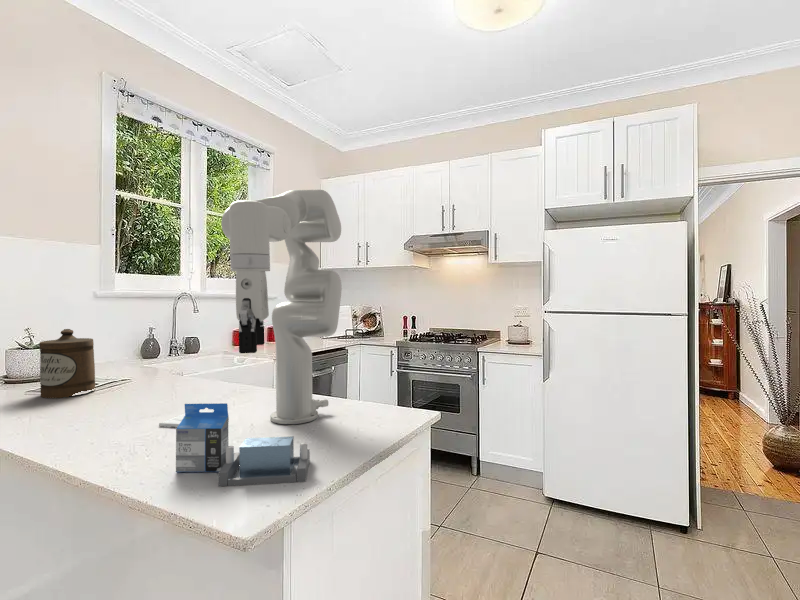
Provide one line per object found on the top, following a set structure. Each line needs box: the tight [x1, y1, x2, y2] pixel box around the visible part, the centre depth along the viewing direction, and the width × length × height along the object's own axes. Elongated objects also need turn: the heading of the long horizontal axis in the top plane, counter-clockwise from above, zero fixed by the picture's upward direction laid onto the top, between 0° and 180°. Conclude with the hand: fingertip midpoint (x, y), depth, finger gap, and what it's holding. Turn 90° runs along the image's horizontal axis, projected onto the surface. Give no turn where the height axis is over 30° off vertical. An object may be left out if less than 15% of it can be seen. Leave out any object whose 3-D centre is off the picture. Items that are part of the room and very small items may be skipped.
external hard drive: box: [158, 409, 214, 428], centre depth 116 cm, size 2×8×12 cm
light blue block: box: [238, 436, 295, 478], centre depth 82 cm, size 5×9×6 cm, turn 96°
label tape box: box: [175, 402, 230, 473], centre depth 84 cm, size 9×4×12 cm, turn 90°
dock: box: [217, 442, 311, 487], centre depth 82 cm, size 10×15×5 cm, turn 97°
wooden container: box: [39, 328, 96, 399], centre depth 148 cm, size 15×15×22 cm
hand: (252, 348), depth 88 cm, fingers open, 9 cm apart
